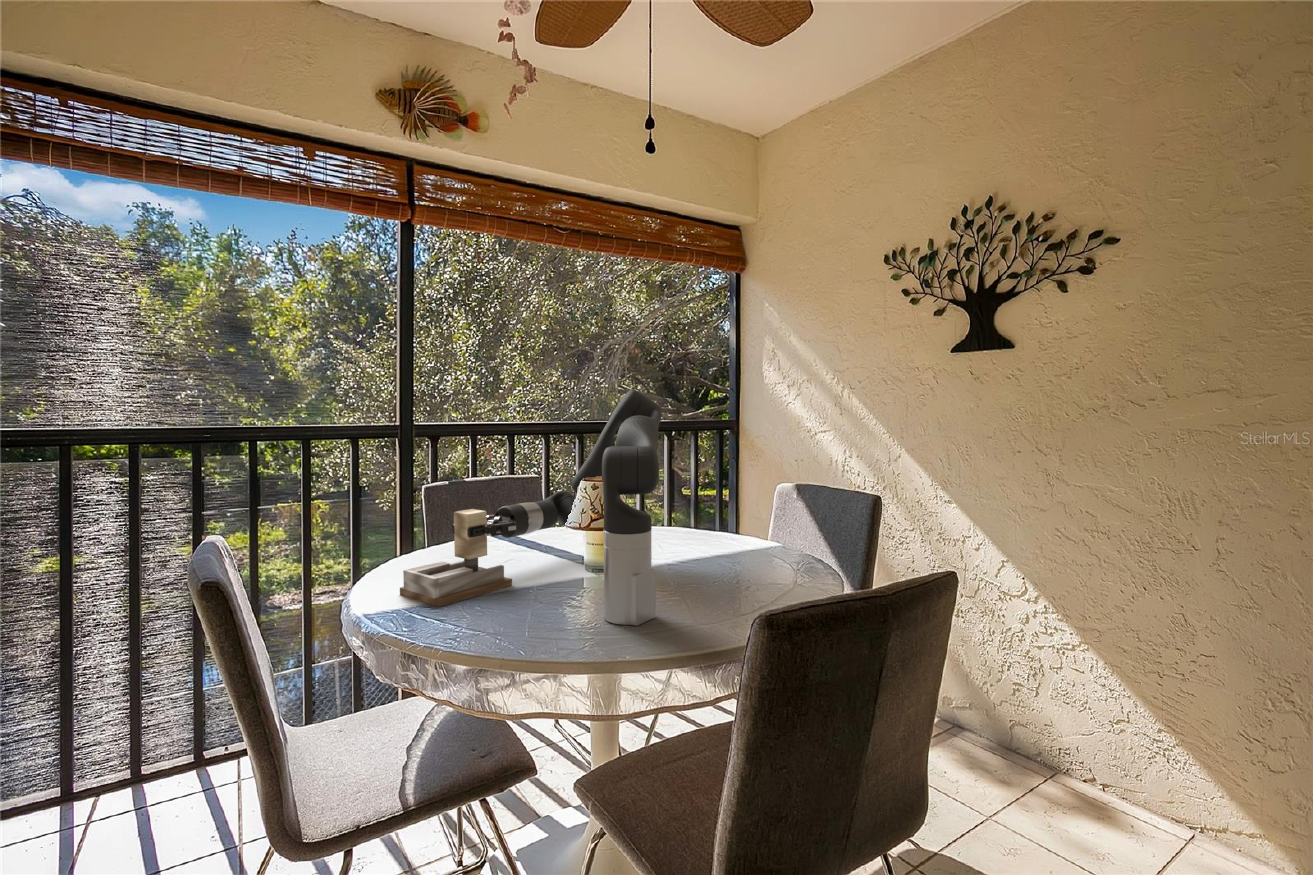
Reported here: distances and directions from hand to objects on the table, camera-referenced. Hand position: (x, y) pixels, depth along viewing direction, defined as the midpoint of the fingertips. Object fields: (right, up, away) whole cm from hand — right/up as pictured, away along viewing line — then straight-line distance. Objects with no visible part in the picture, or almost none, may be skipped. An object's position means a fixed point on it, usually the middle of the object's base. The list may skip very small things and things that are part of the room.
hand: (460, 531), depth 146 cm
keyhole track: (-1, -13, 0) cm, 13 cm away
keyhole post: (+2, -11, +3) cm, 11 cm away
